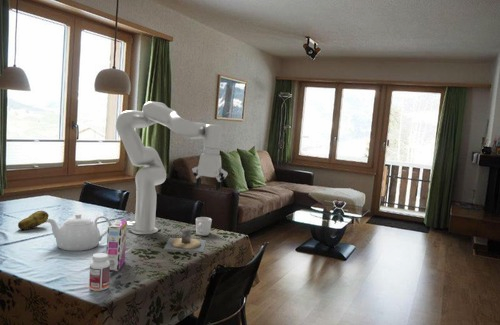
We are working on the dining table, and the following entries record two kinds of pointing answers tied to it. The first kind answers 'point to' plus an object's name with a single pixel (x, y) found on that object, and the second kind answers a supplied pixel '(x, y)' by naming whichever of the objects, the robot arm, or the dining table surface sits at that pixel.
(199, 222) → the cup
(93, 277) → the pill bottle
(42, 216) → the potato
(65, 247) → the teapot
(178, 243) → the lid
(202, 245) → the mat
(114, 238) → the candy bar box
